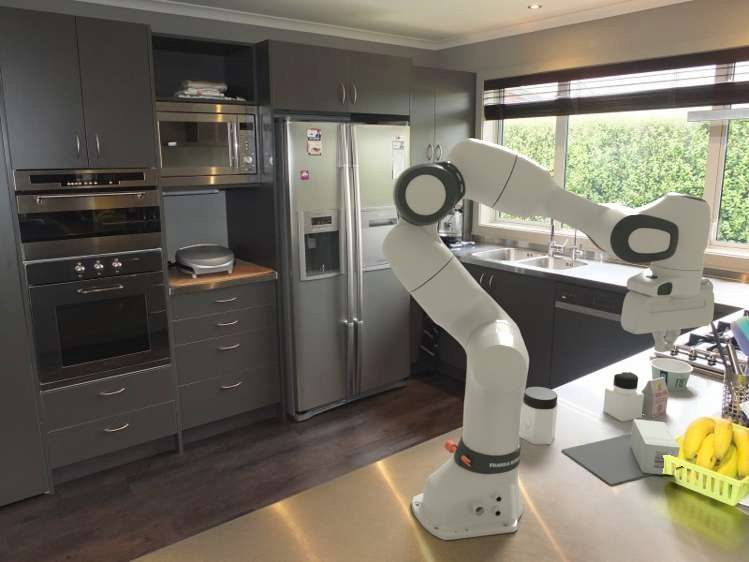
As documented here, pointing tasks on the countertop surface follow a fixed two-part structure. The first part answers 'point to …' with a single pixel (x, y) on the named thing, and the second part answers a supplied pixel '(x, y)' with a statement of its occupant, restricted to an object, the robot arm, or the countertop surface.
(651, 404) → the juice carton
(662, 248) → the robot arm
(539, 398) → the jar
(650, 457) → the supplement box
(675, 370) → the food container
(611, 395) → the medicine bottle
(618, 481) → the mat
